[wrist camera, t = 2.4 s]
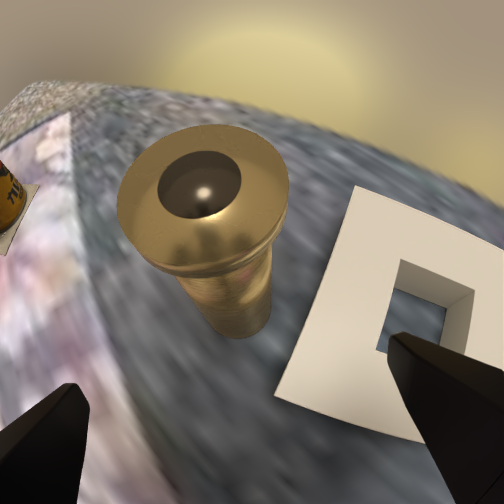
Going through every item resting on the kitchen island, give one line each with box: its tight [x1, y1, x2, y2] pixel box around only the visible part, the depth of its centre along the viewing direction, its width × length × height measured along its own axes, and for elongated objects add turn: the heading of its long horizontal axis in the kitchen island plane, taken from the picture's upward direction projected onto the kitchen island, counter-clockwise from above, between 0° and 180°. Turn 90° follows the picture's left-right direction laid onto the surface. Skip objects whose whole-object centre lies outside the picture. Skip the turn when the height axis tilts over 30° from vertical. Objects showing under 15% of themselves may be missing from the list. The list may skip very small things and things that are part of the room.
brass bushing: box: [117, 124, 289, 339], centre depth 15 cm, size 5×5×13 cm
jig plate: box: [273, 186, 504, 444], centre depth 18 cm, size 14×14×4 cm
